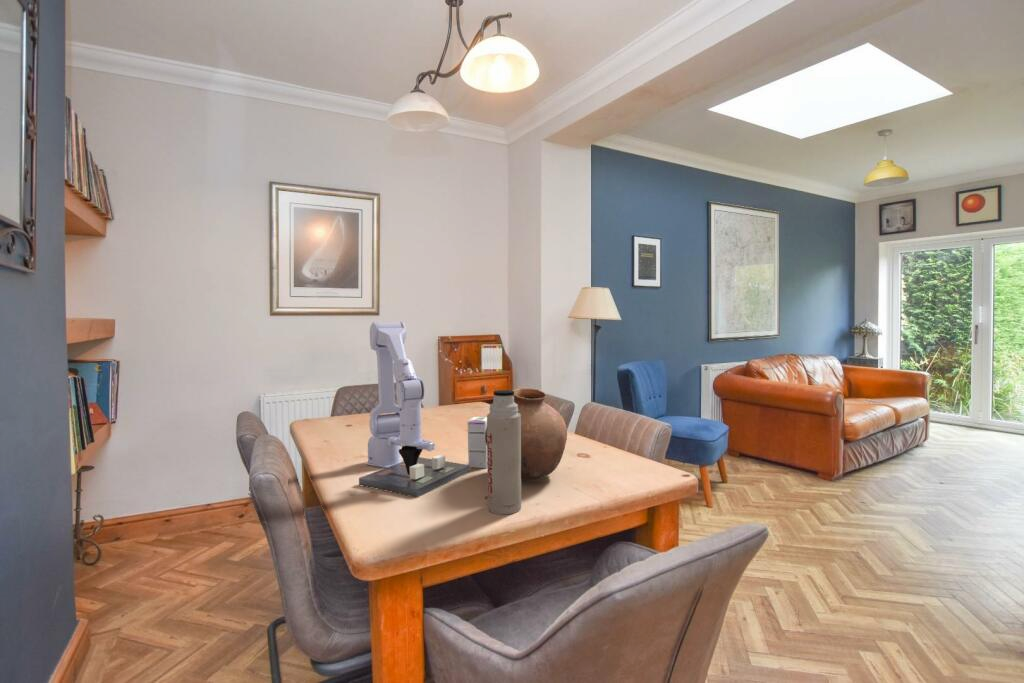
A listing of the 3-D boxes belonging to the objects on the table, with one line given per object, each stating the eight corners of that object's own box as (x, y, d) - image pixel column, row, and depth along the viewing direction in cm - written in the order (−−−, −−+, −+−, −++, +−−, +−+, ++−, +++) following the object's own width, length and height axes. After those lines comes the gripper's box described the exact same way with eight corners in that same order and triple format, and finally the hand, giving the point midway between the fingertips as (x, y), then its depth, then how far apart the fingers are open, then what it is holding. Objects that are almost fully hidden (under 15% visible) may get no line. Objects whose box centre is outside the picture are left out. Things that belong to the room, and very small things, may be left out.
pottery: (507, 462, 159) (507, 382, 158) (578, 471, 149) (578, 386, 148) (470, 483, 139) (469, 392, 138) (549, 496, 129) (548, 397, 127)
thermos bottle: (488, 515, 117) (487, 393, 115) (487, 502, 125) (486, 388, 123) (523, 513, 117) (522, 392, 116) (519, 501, 125) (518, 388, 124)
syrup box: (486, 468, 153) (486, 420, 152) (467, 467, 154) (467, 419, 153) (491, 463, 158) (490, 416, 158) (473, 462, 159) (472, 416, 159)
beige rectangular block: (409, 478, 136) (409, 466, 136) (418, 474, 139) (418, 463, 139) (415, 479, 135) (415, 467, 135) (424, 475, 138) (424, 464, 138)
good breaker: (432, 468, 145) (431, 457, 145) (439, 465, 148) (439, 454, 148) (437, 469, 144) (437, 458, 144) (445, 466, 147) (445, 455, 147)
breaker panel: (359, 485, 138) (358, 477, 138) (416, 462, 159) (416, 456, 159) (417, 497, 128) (417, 489, 128) (469, 471, 149) (469, 464, 149)
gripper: (379, 424, 137) (380, 473, 138) (422, 429, 130) (423, 481, 131) (397, 419, 144) (398, 467, 144) (439, 424, 137) (439, 474, 137)
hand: (411, 473), depth 138 cm, fingers closed
